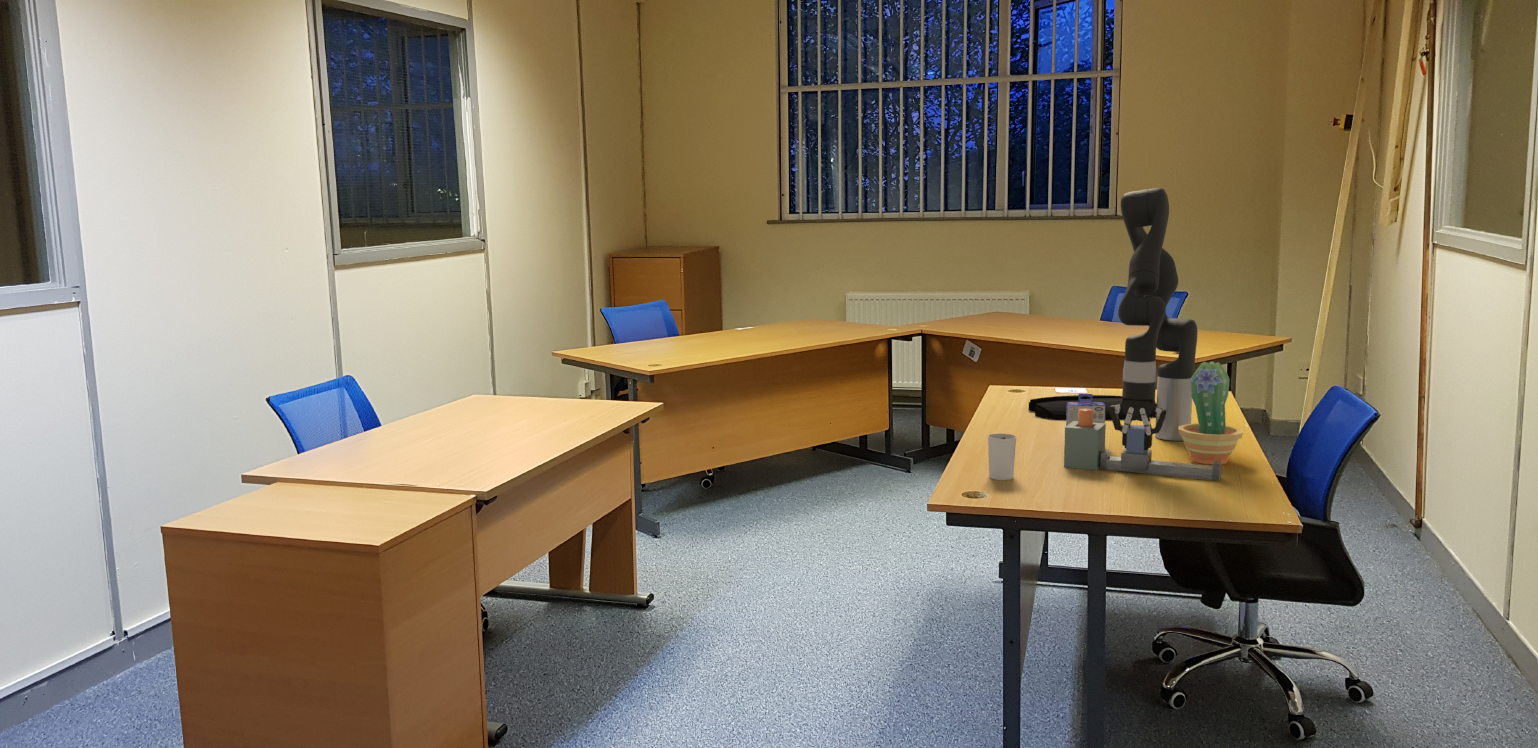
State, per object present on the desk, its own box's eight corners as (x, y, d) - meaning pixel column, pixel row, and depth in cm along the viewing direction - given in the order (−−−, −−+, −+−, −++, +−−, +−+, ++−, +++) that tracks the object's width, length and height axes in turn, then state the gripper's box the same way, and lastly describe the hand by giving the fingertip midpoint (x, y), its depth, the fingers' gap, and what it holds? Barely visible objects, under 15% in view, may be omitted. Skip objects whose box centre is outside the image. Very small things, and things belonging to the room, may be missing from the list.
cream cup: (984, 473, 257) (985, 433, 256) (1012, 473, 257) (1013, 433, 255) (989, 480, 250) (990, 439, 249) (1018, 480, 250) (1018, 439, 249)
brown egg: (1079, 433, 266) (1080, 408, 265) (1094, 434, 264) (1094, 409, 263) (1076, 435, 263) (1076, 410, 262) (1091, 437, 261) (1091, 411, 260)
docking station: (1175, 420, 319) (1176, 404, 319) (1040, 422, 320) (1041, 406, 319) (1148, 406, 344) (1148, 390, 343) (1022, 407, 345) (1023, 392, 344)
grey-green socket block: (1072, 459, 270) (1073, 420, 269) (1104, 462, 267) (1105, 423, 265) (1063, 466, 263) (1064, 427, 261) (1096, 470, 259) (1098, 430, 257)
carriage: (1125, 463, 262) (1127, 423, 261) (1151, 465, 259) (1152, 425, 258) (1120, 469, 256) (1122, 428, 255) (1146, 471, 253) (1148, 430, 252)
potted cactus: (1162, 457, 271) (1166, 360, 268) (1208, 451, 277) (1212, 356, 274) (1209, 470, 257) (1214, 368, 254) (1256, 463, 263) (1261, 364, 260)
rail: (1103, 465, 263) (1104, 449, 263) (1220, 477, 251) (1221, 460, 250) (1100, 469, 260) (1100, 453, 259) (1218, 480, 247) (1219, 464, 247)
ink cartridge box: (1102, 446, 285) (1104, 393, 283) (1105, 450, 279) (1106, 396, 277) (1064, 445, 287) (1066, 392, 285) (1066, 449, 281) (1067, 396, 279)
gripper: (1172, 378, 254) (1169, 448, 257) (1111, 375, 261) (1109, 443, 264) (1168, 383, 248) (1165, 454, 250) (1105, 379, 255) (1103, 449, 257)
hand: (1136, 448), depth 257 cm, fingers closed on carriage, 4 cm apart
